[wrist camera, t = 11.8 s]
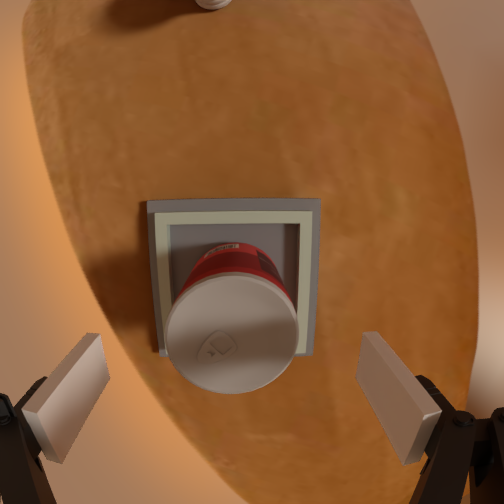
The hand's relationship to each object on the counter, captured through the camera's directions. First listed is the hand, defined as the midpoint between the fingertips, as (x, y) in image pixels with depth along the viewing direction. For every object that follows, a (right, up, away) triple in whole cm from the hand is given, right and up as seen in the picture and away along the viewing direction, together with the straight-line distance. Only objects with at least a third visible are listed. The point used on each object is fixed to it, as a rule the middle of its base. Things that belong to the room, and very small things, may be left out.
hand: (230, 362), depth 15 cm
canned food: (0, +2, +14) cm, 14 cm away
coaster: (-1, +3, +15) cm, 15 cm away
